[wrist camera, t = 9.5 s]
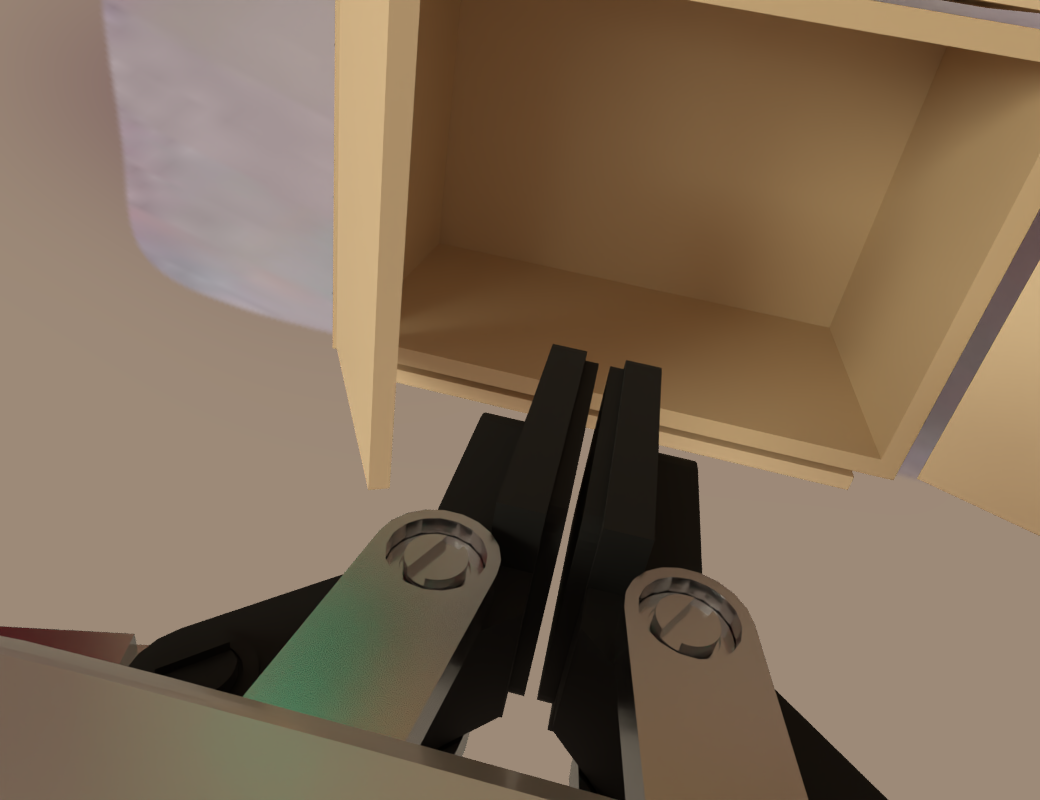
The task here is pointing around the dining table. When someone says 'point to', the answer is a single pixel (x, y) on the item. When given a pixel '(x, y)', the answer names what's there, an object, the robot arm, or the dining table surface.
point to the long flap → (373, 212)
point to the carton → (716, 210)
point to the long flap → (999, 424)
